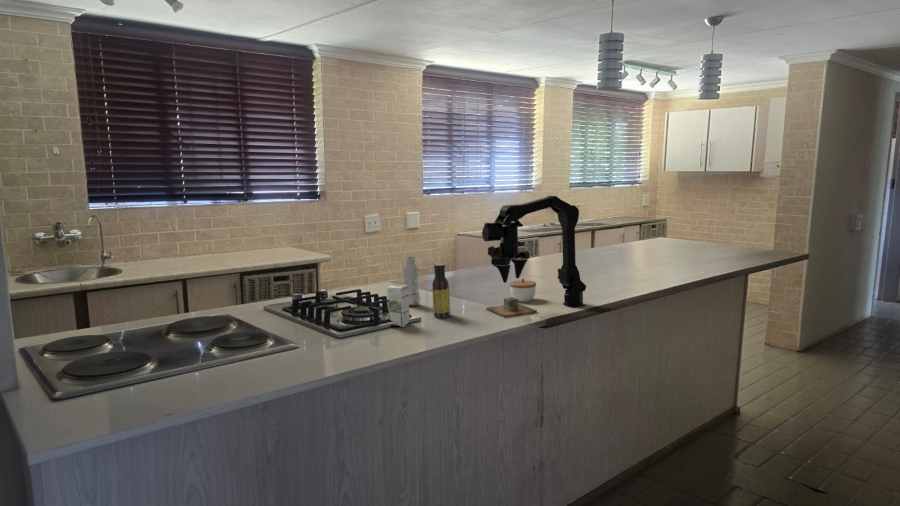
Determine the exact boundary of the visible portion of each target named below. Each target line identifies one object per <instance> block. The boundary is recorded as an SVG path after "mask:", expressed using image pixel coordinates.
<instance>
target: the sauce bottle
mask: <svg viewBox="0 0 900 506" xmlns="http://www.w3.org/2000/svg"><path fill="white" fill-rule="evenodd" d="M445 268H446V265H445V264H444V263H437V264H434V265H433V269H434V278H433V280H432V283H431V284H432V289H431V290H432V305H433V307H432V308H433V317H434V318H435V319H436V318H437V319H442V318H448V317H449V316H451V313H450V311H451V305H450V304H451V302H450V301H451V300H450V288H449V287H450V286H449V280H448V279H447V278H446V271H445V270H446V269H445Z"/></svg>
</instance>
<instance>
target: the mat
mask: <svg viewBox="0 0 900 506" xmlns="http://www.w3.org/2000/svg"><path fill="white" fill-rule="evenodd" d="M483 312H487V314H488V313H489V314H490V315H493V316H494V317H498V318H500V319H502V320H506V319H512V318H513V319H514V318H518V317H527V316H533V315H540V311H539V312H538V311H537V313H534V314H527V315H521V316H514V317H508V318H503V317H501V316H499V315H496V314H494V313H492V312H489V311H487V310H486V309H483Z"/></svg>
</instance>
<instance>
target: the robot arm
mask: <svg viewBox="0 0 900 506" xmlns="http://www.w3.org/2000/svg"><path fill="white" fill-rule="evenodd" d="M549 208H550V210H552V211H553V212H554V213H556V214H557V219H558V222H559V225H560V226H561V231H562V233H561V236H562V237H561V239H562V265H561V267H560V268H557V279H558V281H559V282H558V283H560V284H561V287H562V288H563V289H565V290H564V292H565V293H564V294H563V295H564V301H563V303H562V305H564V306H567V307H570V308H576V307H577V306H578V307H583V306H586V303H584V297H583V296H584V292H585V291H586V289H587V285H586V284H585V283H584V282H583V281H582V280H581V275H580V270H579V268H578V267H577V264H576V230H575V229H576V227H577V224H578V222H579V217H580V209H579V208H578V206H577V205H572V204H570V203H568V202H566V201H564V200H563V199H561V198H559V197H558V196H556V195H547V196H546V197H543V198H538V199H535V200H531V201H528V202H523V203H521V204H507V205H503V206H502V207H501V208H500V209H499V213H498V215H497V216H496V218H495V220H494V221H493V222H484V224H483V225H484V226H483V228H482V231H481V236H482V239H483V241H484V242H494V241H500V243H499V246H497V247H495V246H493V245H492V246H490V247H487V255H488V256H490V257H491V259H490V261H491V262H490V265H492V266H493V267H495V268H497V270H498V271H499V273H500V277H501V279H502V282H503V283H504V284H505V283H507V282H508V279H509V274H510V270H511V262H512V263H513V265H514V266H513V267H514V273H515V279H520V277H521V274H522V273H523V270H524V268H525V266H526V265H527V262H528V261H529V259H530V256H531V255H530V253H529V251H527V250H519V245H521V240H519V235H518V233H519V230H518V229H519V228H521V227H523V226H524V224H523V223H521V222H520V219H522V218H524V217H525V216H526V215H529V214H531V213H536V212H538V211H542V210H546V209H549Z"/></svg>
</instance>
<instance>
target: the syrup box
mask: <svg viewBox="0 0 900 506" xmlns="http://www.w3.org/2000/svg"><path fill="white" fill-rule="evenodd" d="M386 289H387V290H386V291H387V305H388V308H387V310H388V321H389V320H391V321H394V322H395V323H396V324H397V325H399V326H400V327H399V328H404V327H406V326H407V325H406V324H408V322H409V320H410V319H411V317H410V306H409V295H408V285H405V284H391V285H389V286H387V288H386ZM405 325H406V326H405ZM408 325H409V324H408Z"/></svg>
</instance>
